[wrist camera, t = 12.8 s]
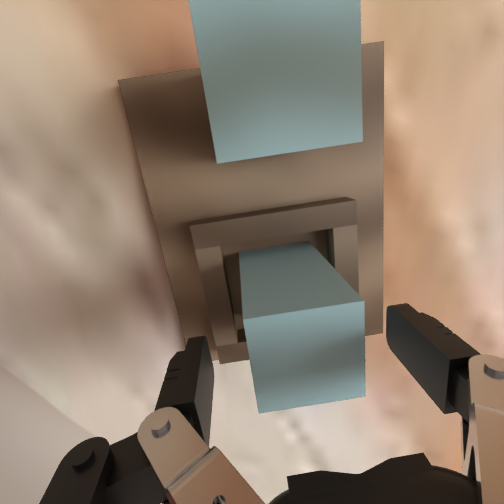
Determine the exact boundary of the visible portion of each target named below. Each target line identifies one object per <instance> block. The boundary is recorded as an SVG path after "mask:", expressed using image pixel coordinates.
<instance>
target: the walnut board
mask: <svg viewBox="0 0 504 504" xmlns="http://www.w3.org/2000/svg"><path fill="white" fill-rule="evenodd" d="M189 6H190V12H191V18H192V23H193V29H194V35H195V40H196V46H197V52H198V58H199V63H200V68H197V69H190V70H184V71H177V72H170V73H163V74H156V75H150V76H143V77H136V78H129V79H122V80H118V83H119V87H120V91H121V94H122V98H123V102H124V106H125V110H126V114H127V118H128V122H129V125H130V129H131V133H132V137H133V141H134V145H135V149H136V153H137V156H138V160H139V164H140V168H141V172H142V176H143V180H144V184H145V187H146V191H147V195H148V199H149V203H150V207H151V211H152V215H153V218H154V222H155V226H156V230H157V234H158V238H159V242H160V246H161V249H162V253H163V257H164V261H165V265H166V269H167V273H168V277H169V280H170V284H171V288H172V292H173V296H174V300H175V304H176V308H177V311H178V315H179V319H180V323H181V327H182V331H183V335H184V339H185V342H186V344H187V340H188V338H192V337H198V336H204V335H205V336H206V337H207V341H208V345H209V350H210V354H211V358H212V361H213V360H219V362H220V364H224V363H230V362H237V361H243V360H249V353H248V347H247V341H246V335H245V329H244V323H243V313H242V296H241V279H240V262H239V252H241V251H247V250H254V249H261V248H267V247H274V246H281V245H287V244H294V243H301V242H307V241H309V242H310V243H311V244H312V245H313V246H314V247H315V248H316V249H317V250H318V251H319V252H320V254H321V255H322V256H323V257H324V258H325V259H326V260H327V261H328V262H329V263H330V264H331V265H332V266H333V268H334V269H335V270H336V271H337V272H338V273H339V274H340V275H341V276H342V277H343V278H344V279H345V280H346V282H347V283H348V284H349V285H350V286H351V287H352V288H353V289H354V290H355V291H356V292H357V293H358V294H359V295H360V297H361V298H362V299H363V300H364V308H365V336H368V335H374V334H380V333H383V182H384V41H381V42H374V43H367V44H361V12H360V0H189Z"/></svg>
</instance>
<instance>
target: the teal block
mask: <svg viewBox="0 0 504 504" xmlns="http://www.w3.org/2000/svg"><path fill="white" fill-rule="evenodd" d="M239 262H240V279H241V296H242V313H243V323H244V329H245V335H246V341H247V347H248V353H249V359H250V365H251V370H252V376H253V382H254V388H255V394H256V400H257V406H258V412H259V413H265V412H272V411H278V410H284V409H290V408H297V407H303V406H309V405H315V404H322V403H328V402H334V401H340V400H347V399H353V398H359V397H366V388H365V308H364V300H363V299H362V298H361V297H360V295H359V294H358V293H357V292H356V291H355V290H354V289H353V288H352V287H351V286H350V285H349V284H348V283H347V282H346V280H345V279H344V278H343V277H342V276H341V275H340V274H339V273H338V272H337V271H336V270H335V269H334V268H333V266H332V265H331V264H330V263H329V262H328V261H327V260H326V259H325V258H324V257H323V256H322V255H321V254H320V252H319V251H318V250H317V249H316V248H315V247H314V246H313V245H312V244H311V243H310V242H309V241H307V242H301V243H294V244H287V245H281V246H274V247H267V248H261V249H254V250H247V251H241V252H239Z"/></svg>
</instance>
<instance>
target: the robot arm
mask: <svg viewBox="0 0 504 504" xmlns="http://www.w3.org/2000/svg"><path fill="white" fill-rule="evenodd" d="M386 338H387V342H388V345H389V347H390V349H391V351H392V352H393V353H394V354H395V356H396V357H397V358H398V359H399V360H400V362H401V363H402V364H403V365H404V366H405V368H406V369H407V370H408V371H409V372H410V374H411V375H412V376H413V377H414V378H415V380H416V381H417V382H418V383H419V384H420V386H421V387H422V388H423V389H424V390H425V392H426V393H427V394H428V395H429V396H430V398H431V399H432V400H433V401H434V402H435V404H436V405H437V406H438V407H439V408H440V410H441V411H442V412H443V413H444V414H448V413H454V412H458V413H459V414H460V415H461V416H462V418H461V451H462V474H461V473H458V472H456V471H453V470H450V469H447V468H443V467H438V466H432V465H431V464H430V462H429V461H428V459H427V458H426V456H425V455H424V453H419V454H413V455H407V456H401V457H396V458H390V459H388V460H386V461H384V462H382V463H380V464H379V465H377V466H375V467H373V468H371V469H369V470H367V471H365V472H363V473H361V474H349V473H340V472H330V471H315V472H309V473H304V474H298V475H292V476H287V481H288V488H289V489H288V490H286V491H284V492H283V493H281V494H280V495H278V496H277V497H275V498H274V499H273V500H272V501H271V502H270V503H269V504H504V359H503V358H500V357H496V356H492V355H481V354H480V353H479V352H477V351H476V350H475V349H474V348H472V347H471V346H470V345H469V344H467V343H466V342H465V341H463V340H462V339H461V338H460V337H458V336H457V335H456V334H453V332H452V331H451V330H449V329H448V328H447V327H445V326H444V325H443V324H442V323H440V322H439V321H438V320H437V319H435V318H433V317H431V316H429V315H427V314H424V313H419V312H417V311H416V310H415V309H414V308H412V307H411V306H410V305H409V304H407V303H404V304H398V305H392V306H388V307H387V317H386ZM213 387H214V369H213V363H212V358H211V354H210V350H209V345H208V341H207V337H206V336H205V335H204V336H198V337H192V338H188V340H187V344H186V349H185V351H180V352H177V353H176V354H175V355H174V356H173V358H172V359H171V360H170V362H169V365H168V368H167V373H166V375H165V378H164V381H163V385H162V388H161V391H160V394H159V398H158V401H157V404H156V408H155V411H154V412H152V413H151V414H150V415H148V416H147V417H146V418H145V419H144V421H143V422H142V423H141V425H140V427H139V429H138V432H137V433H135V434H133V435H131V436H130V437H127V438H125V439H123V440H121V441H118V442H116V443H114V444H112V445H109V443H108V441H107V440H106V439H105V438H102V437H94V438H90V439H88V440H85V441H83V442H81V443H80V444H78V445H77V446H75V447H74V448H73V449H72V450H70V451H69V452H68V453H67V455H66V456H65V457H64V458H63V459H62V461H61V463H60V464H59V466H58V468H57V470H56V472H55V474H54V476H53V478H52V480H51V482H50V484H49V486H48V488H47V490H46V492H45V494H44V495H43V497H42V499H41V501H40V503H39V504H160V503H162V504H265V503H264V502H263V501H262V499H261V498H260V497H259V496H258V495H257V494H256V492H255V491H254V490H253V489H252V488H251V486H250V485H249V484H248V483H247V482H246V481H245V479H244V478H243V477H242V476H241V475H240V473H239V472H238V471H237V470H236V469H235V467H234V466H233V465H232V464H231V463H230V462H229V460H228V459H227V458H226V457H225V456H224V454H223V453H222V452H221V451H220V450H219V449H218V448H217V447H215V446H213V447H212V448H211V449H210V448H209V438H210V425H211V412H212V399H213Z"/></svg>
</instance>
